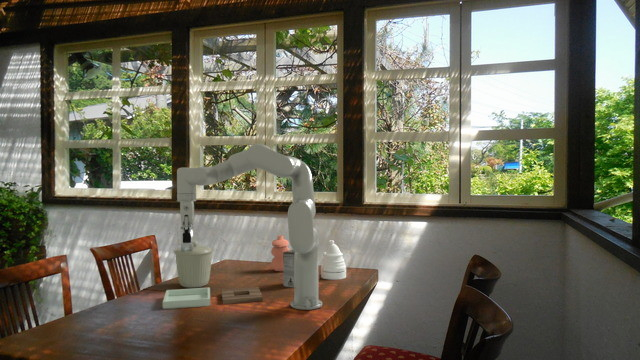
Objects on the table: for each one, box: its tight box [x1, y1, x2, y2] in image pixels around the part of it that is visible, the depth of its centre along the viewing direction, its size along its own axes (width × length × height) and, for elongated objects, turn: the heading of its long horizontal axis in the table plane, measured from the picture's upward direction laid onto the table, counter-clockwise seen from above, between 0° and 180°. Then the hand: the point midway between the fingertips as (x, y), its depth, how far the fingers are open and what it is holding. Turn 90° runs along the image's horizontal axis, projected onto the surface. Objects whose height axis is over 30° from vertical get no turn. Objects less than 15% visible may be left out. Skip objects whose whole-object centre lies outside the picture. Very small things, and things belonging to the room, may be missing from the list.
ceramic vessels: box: [270, 235, 322, 282], centre depth 236 cm, size 35×21×19 cm, turn 36°
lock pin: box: [180, 225, 194, 252], centre depth 188 cm, size 5×5×10 cm
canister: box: [173, 240, 215, 289], centre depth 215 cm, size 18×18×21 cm
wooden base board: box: [221, 286, 264, 305], centre depth 194 cm, size 16×16×2 cm
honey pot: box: [320, 239, 347, 281], centre depth 232 cm, size 13×13×18 cm
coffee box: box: [282, 249, 295, 289], centre depth 215 cm, size 9×6×16 cm
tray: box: [162, 287, 211, 310], centre depth 188 cm, size 18×18×3 cm
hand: (187, 241), depth 188 cm, fingers closed on lock pin, 5 cm apart
